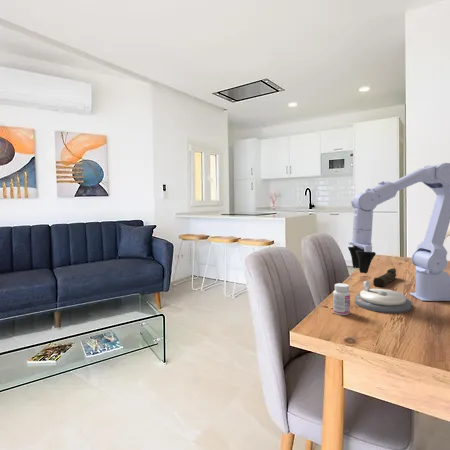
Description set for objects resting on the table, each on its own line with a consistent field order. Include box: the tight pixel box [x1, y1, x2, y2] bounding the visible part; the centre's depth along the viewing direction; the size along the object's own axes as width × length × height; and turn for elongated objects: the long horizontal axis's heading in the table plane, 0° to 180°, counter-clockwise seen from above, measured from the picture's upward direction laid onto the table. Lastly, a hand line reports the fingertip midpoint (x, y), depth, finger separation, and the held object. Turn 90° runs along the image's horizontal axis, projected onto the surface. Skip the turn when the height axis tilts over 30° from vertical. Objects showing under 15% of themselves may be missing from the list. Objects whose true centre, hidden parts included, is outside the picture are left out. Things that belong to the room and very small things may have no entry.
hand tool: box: [372, 268, 397, 289], centre depth 127 cm, size 19×4×5 cm, turn 133°
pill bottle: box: [332, 282, 351, 316], centre depth 95 cm, size 5×5×8 cm
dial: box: [359, 280, 407, 306], centre depth 102 cm, size 13×13×4 cm
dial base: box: [354, 293, 412, 314], centre depth 102 cm, size 16×16×2 cm
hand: (359, 270), depth 107 cm, fingers open, 7 cm apart
